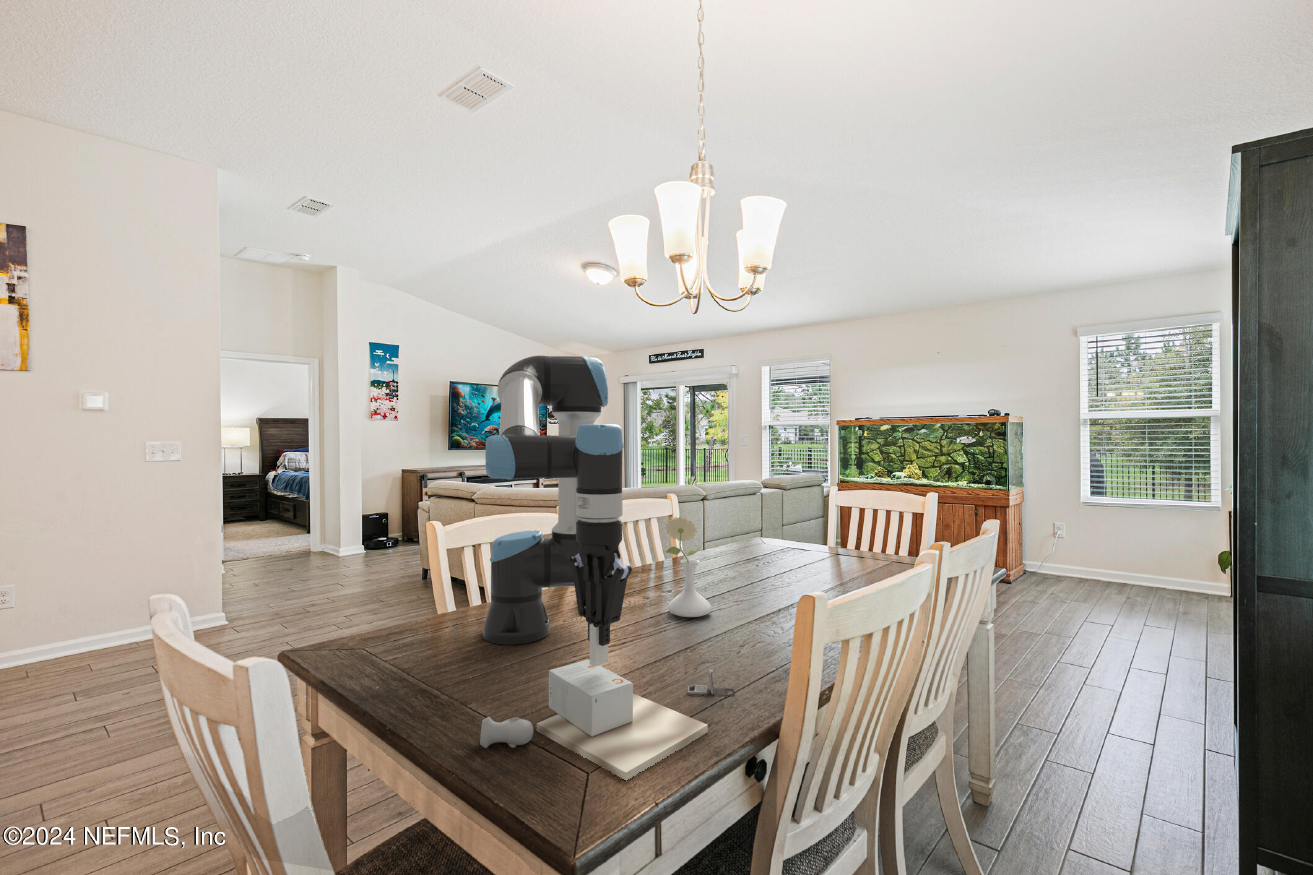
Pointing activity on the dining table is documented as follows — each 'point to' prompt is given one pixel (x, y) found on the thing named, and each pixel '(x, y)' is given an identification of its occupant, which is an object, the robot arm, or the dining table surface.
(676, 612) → the flower in vase
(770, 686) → the dining table surface
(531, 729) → the smooth white sculpture
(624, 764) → the birch board
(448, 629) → the dining table surface
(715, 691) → the strap clip
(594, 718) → the small box
